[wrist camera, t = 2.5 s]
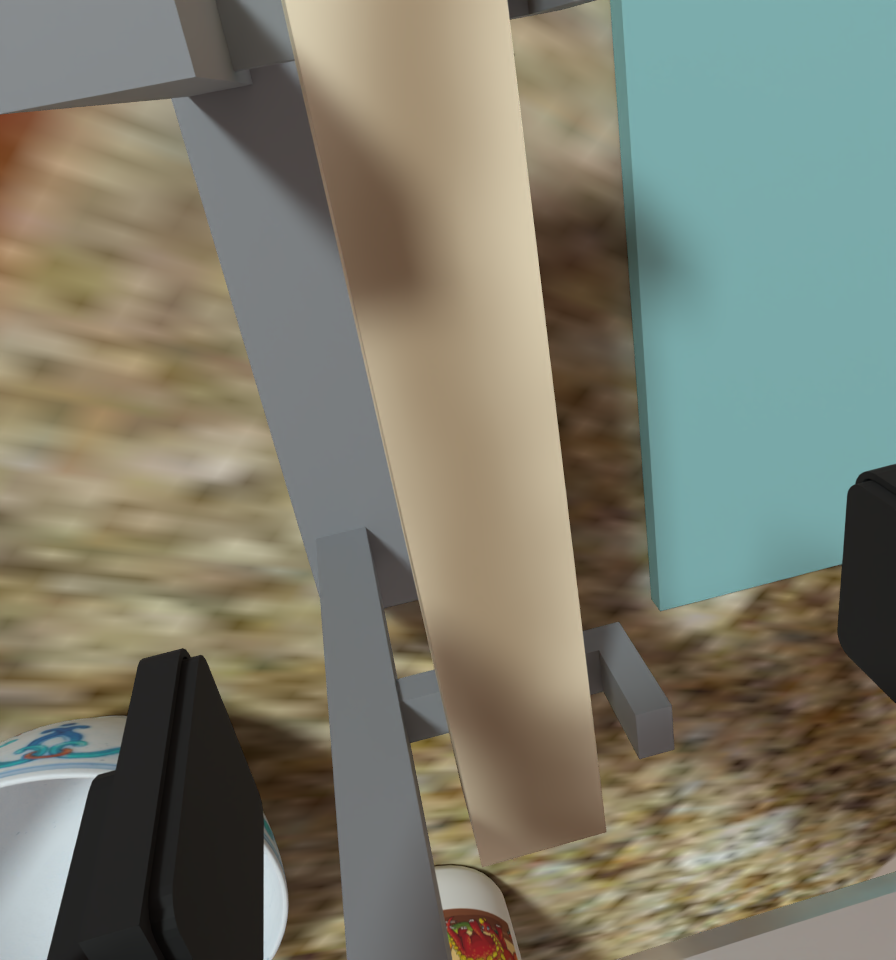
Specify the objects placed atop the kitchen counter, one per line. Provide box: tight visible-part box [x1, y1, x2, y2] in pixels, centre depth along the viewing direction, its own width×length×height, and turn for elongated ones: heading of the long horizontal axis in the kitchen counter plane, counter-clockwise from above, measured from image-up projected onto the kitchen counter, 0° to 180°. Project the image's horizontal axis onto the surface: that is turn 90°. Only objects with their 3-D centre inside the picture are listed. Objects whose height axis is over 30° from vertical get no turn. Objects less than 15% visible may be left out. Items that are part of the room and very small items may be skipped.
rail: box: [281, 0, 606, 867], centre depth 19 cm, size 4×24×3 cm, turn 10°
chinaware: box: [0, 716, 289, 960], centre depth 33 cm, size 15×15×8 cm
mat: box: [610, 0, 896, 611], centre depth 31 cm, size 13×30×1 cm, turn 10°
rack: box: [0, 0, 674, 960], centre depth 21 cm, size 10×24×20 cm, turn 10°
